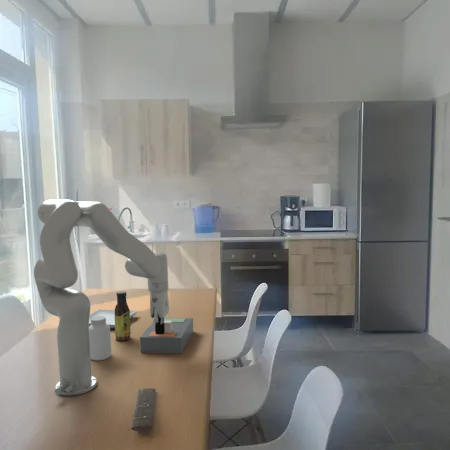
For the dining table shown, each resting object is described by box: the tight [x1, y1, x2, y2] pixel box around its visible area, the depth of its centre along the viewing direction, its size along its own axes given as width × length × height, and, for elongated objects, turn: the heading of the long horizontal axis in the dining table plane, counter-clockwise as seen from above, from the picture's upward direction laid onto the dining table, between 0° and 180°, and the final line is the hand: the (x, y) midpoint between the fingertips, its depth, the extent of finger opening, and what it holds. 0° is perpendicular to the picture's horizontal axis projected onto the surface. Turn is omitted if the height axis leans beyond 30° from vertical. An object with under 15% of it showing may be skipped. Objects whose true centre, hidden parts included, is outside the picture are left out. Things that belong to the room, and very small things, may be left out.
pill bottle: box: [89, 316, 112, 361], centre depth 161 cm, size 8×8×15 cm
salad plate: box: [89, 309, 138, 329], centre depth 203 cm, size 21×21×3 cm
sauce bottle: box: [114, 290, 131, 342], centre depth 179 cm, size 7×6×20 cm
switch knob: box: [164, 320, 173, 333], centre depth 169 cm, size 3×6×4 cm, turn 83°
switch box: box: [139, 317, 194, 354], centre depth 176 cm, size 24×16×6 cm, turn 173°
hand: (160, 333), depth 163 cm, fingers closed
